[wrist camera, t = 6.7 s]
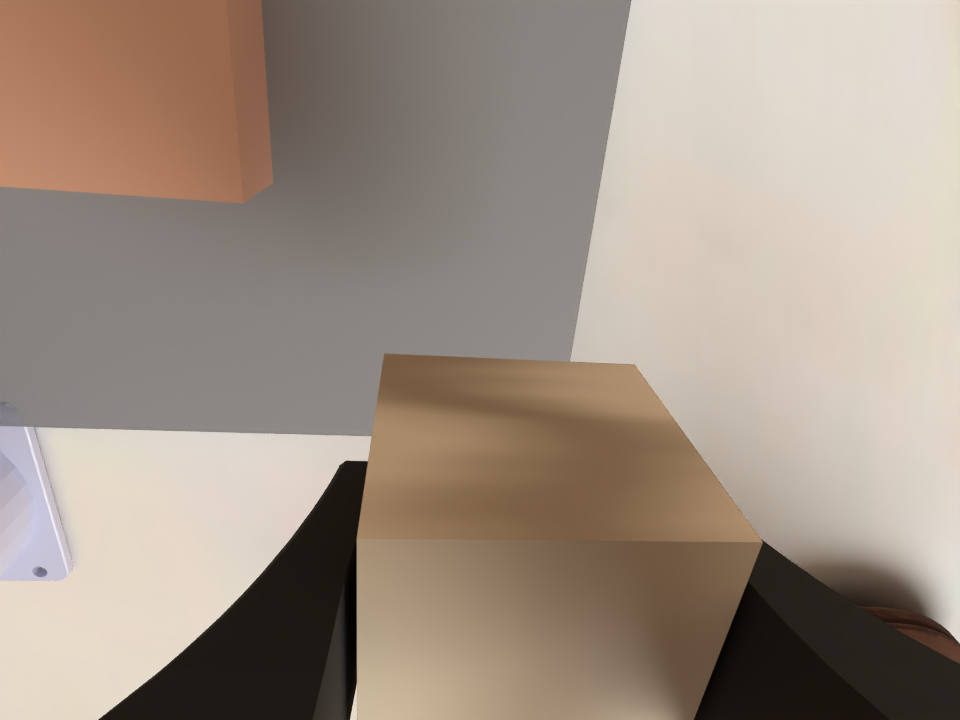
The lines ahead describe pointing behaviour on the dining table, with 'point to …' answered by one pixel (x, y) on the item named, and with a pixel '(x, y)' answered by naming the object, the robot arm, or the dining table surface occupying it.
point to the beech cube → (539, 547)
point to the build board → (288, 200)
